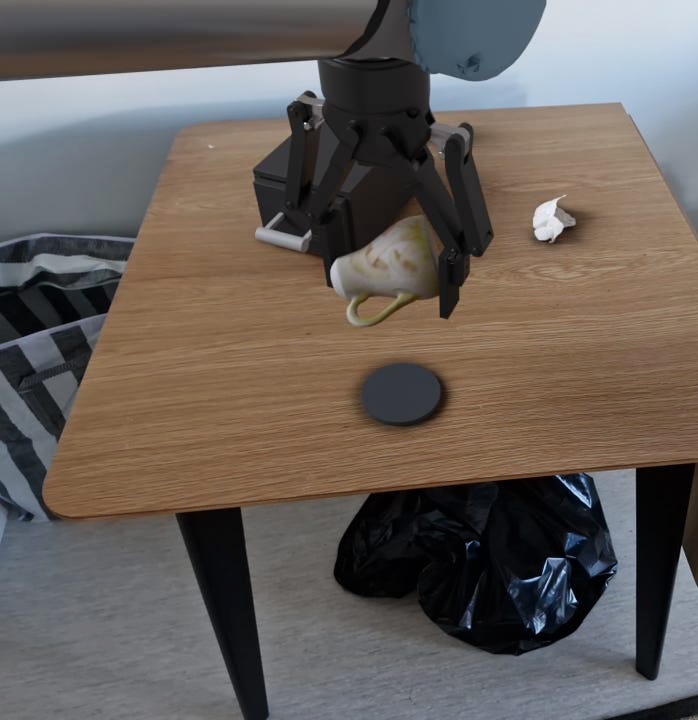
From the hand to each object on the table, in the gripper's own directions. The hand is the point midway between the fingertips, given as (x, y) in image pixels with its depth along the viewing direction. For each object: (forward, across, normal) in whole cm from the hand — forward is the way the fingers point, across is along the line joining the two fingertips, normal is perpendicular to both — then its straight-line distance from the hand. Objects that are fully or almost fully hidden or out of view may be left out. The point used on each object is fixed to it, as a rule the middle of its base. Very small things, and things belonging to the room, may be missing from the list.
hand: (393, 293), depth 64 cm
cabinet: (+14, +20, -27) cm, 36 cm away
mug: (0, 0, 0) cm, 0 cm away
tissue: (+14, -6, -34) cm, 37 cm away
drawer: (+13, +20, -23) cm, 33 cm away
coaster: (+14, 0, 0) cm, 14 cm away
